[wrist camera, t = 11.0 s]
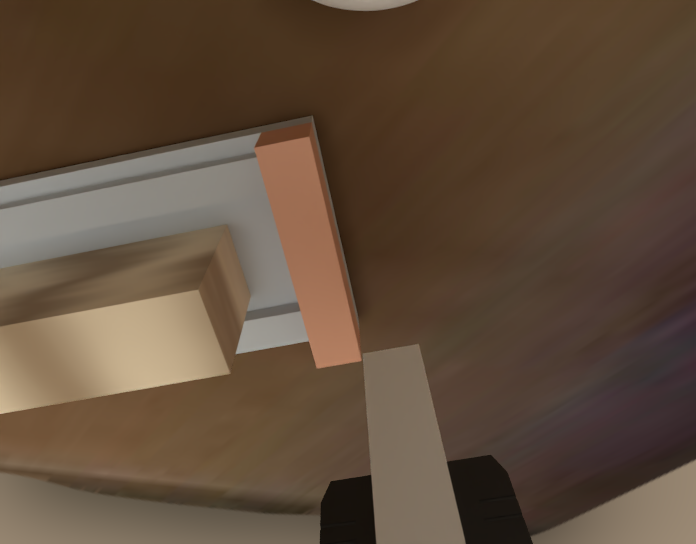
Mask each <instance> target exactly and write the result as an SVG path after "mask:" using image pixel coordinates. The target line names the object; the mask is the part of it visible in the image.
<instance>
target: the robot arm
mask: <svg viewBox="0 0 696 544" xmlns="http://www.w3.org/2000/svg"><path fill="white" fill-rule="evenodd" d="M363 367H364V381H365V395H366V408H367V422H368V436H369V450H370V463H371V475H368V476H362V477H356V478H349V479H343V480H337V481H331V482H330V484H329V487H328V489H327V491H326V493H325V495H324V497H323V500H322V502H321V521H320V522H321V523H320V526H321V530H320V544H533V543H532V540H531V537H530V534H529V532H528V529H527V526H526V523H525V520H524V518H523V516H522V512H521V509H520V506H519V504H518V501H517V499H516V496H515V492H514V490H513V487H512V484H511V481H510V478H509V476H508V473H507V472H506V470H505V469H504V468H503V467H502V466H501V465H500V464H499V463H498V462H497V461H496V460H495V459H494V458H493V457H492V456H491V455H487V456H481V457H474V458H468V459H461V460H455V461H449V462H446V457H445V453H444V449H443V445H442V440H441V436H440V432H439V428H438V423H437V419H436V415H435V411H434V406H433V402H432V398H431V394H430V389H429V385H428V381H427V377H426V372H425V368H424V364H423V360H422V355H421V351H420V347H419V344H416V345H410V346H404V347H399V348H393V349H387V350H381V351H376V352H370V353H364V354H363Z"/></svg>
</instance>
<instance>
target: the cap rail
mask: <svg viewBox="0 0 696 544" xmlns="http://www.w3.org/2000/svg"><path fill="white" fill-rule="evenodd" d="M226 224H227V225H228V228H229V231H230V235H231V238H232V241H233V244H234V247H235V250H236V253H237V256H238V259H239V262H240V265H241V268H242V271H243V274H244V277H245V280H246V283H247V286H248V289H249V292H250V295H251V298H250V301H249V305H248V309H247V313H246V316H245V320H244V324H243V328H242V332H241V335H240V339H239V343H238V347H237V350H236V354H239V353H245V352H250V351H256V350H262V349H267V348H273V347H279V346H284V345H290V344H295V343H301V342H307V341H309V343H310V346H311V350H312V353H313V357H314V360H315V364H316V367H317V369H318V368H323V367H329V366H335V365H341V364H346V363H352V362H358V361H362V359H361V346H360V332H359V319H358V314H357V309H356V305H355V301H354V296H353V292H352V287H351V283H350V278H349V274H348V270H347V265H346V261H345V256H344V252H343V248H342V243H341V239H340V234H339V230H338V225H337V221H336V217H335V212H334V208H333V203H332V199H331V194H330V190H329V186H328V181H327V177H326V172H325V168H324V163H323V159H322V155H321V150H320V146H319V141H318V137H317V132H316V128H315V124H314V119H313V116H308V117H303V118H298V119H293V120H289V121H284V122H279V123H274V124H269V125H265V126H260V127H255V128H250V129H245V130H241V131H236V132H231V133H226V134H221V135H217V136H212V137H207V138H202V139H198V140H193V141H188V142H183V143H178V144H174V145H169V146H164V147H159V148H154V149H150V150H145V151H140V152H135V153H130V154H126V155H121V156H116V157H111V158H106V159H102V160H97V161H92V162H87V163H82V164H78V165H73V166H68V167H63V168H58V169H54V170H49V171H44V172H39V173H34V174H30V175H25V176H20V177H15V178H10V179H6V180H1V181H0V268H6V267H11V266H16V265H21V264H26V263H31V262H36V261H41V260H47V259H52V258H57V257H62V256H67V255H72V254H77V253H82V252H88V251H93V250H98V249H103V248H108V247H113V246H118V245H123V244H129V243H134V242H139V241H144V240H149V239H154V238H159V237H164V236H170V235H175V234H180V233H185V232H190V231H195V230H200V229H205V228H211V227H216V226H221V225H226Z"/></svg>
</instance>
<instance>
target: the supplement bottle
mask: <svg viewBox="0 0 696 544" xmlns="http://www.w3.org/2000/svg"><path fill="white" fill-rule="evenodd" d="M313 1H315V2H318V3H321V4H323V5H326V6H330V7H334V8H339V9H345V10H355V11H377V10H385V9H391V8H396V7H399V6H403V5H406V4H409V3H412V2H415V1H417V0H313Z"/></svg>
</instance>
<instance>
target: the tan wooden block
mask: <svg viewBox="0 0 696 544" xmlns="http://www.w3.org/2000/svg"><path fill="white" fill-rule="evenodd" d="M250 298H251V295H250V292H249V289H248V286H247V283H246V280H245V277H244V274H243V271H242V268H241V265H240V262H239V259H238V256H237V253H236V250H235V247H234V244H233V241H232V238H231V235H230V231H229V228H228V225H227V224H226V225H221V226H216V227H211V228H205V229H200V230H195V231H190V232H185V233H180V234H175V235H170V236H164V237H159V238H154V239H149V240H144V241H139V242H134V243H129V244H123V245H118V246H113V247H108V248H103V249H98V250H93V251H88V252H82V253H77V254H72V255H67V256H62V257H57V258H52V259H47V260H41V261H36V262H31V263H26V264H21V265H16V266H11V267H6V268H0V414H2V413H8V412H13V411H19V410H25V409H31V408H36V407H42V406H48V405H54V404H59V403H65V402H71V401H77V400H82V399H88V398H94V397H99V396H105V395H111V394H117V393H122V392H128V391H134V390H140V389H145V388H151V387H157V386H163V385H168V384H174V383H180V382H185V381H191V380H197V379H203V378H208V377H214V376H220V375H226V374H230V373H231V369H232V365H233V362H234V358H235V354H236V350H237V347H238V343H239V339H240V335H241V332H242V328H243V324H244V320H245V316H246V313H247V309H248V305H249V301H250Z"/></svg>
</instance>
